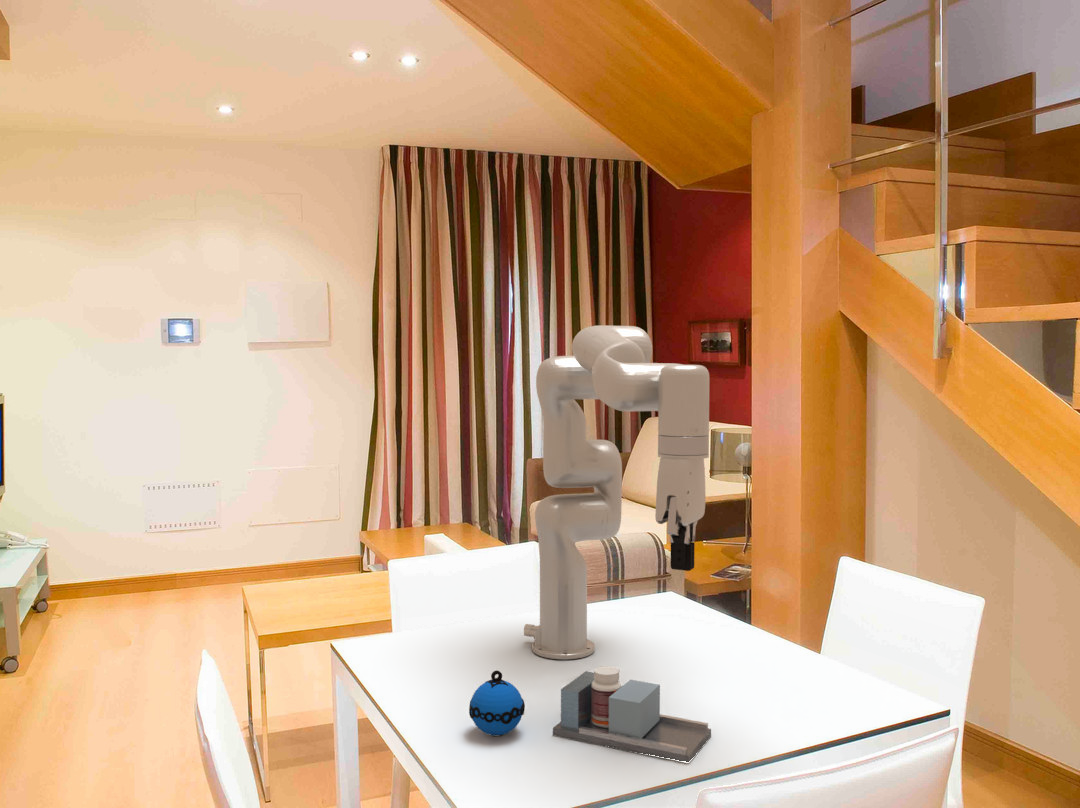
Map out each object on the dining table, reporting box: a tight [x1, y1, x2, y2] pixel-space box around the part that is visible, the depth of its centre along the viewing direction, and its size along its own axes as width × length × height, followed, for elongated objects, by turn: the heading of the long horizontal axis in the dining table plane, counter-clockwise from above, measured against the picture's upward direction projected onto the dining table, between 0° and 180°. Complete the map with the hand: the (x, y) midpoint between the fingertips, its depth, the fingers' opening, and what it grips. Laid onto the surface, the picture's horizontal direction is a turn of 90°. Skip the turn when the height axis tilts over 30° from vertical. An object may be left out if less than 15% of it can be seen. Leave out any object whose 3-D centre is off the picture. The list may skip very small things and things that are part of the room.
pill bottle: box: [591, 666, 623, 728], centre depth 143 cm, size 5×5×8 cm
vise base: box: [552, 670, 712, 762], centre depth 141 cm, size 22×11×7 cm, turn 62°
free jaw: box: [609, 679, 661, 738], centre depth 141 cm, size 5×9×6 cm, turn 152°
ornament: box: [468, 670, 526, 737], centre depth 142 cm, size 9×9×10 cm
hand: (682, 568), depth 136 cm, fingers closed
